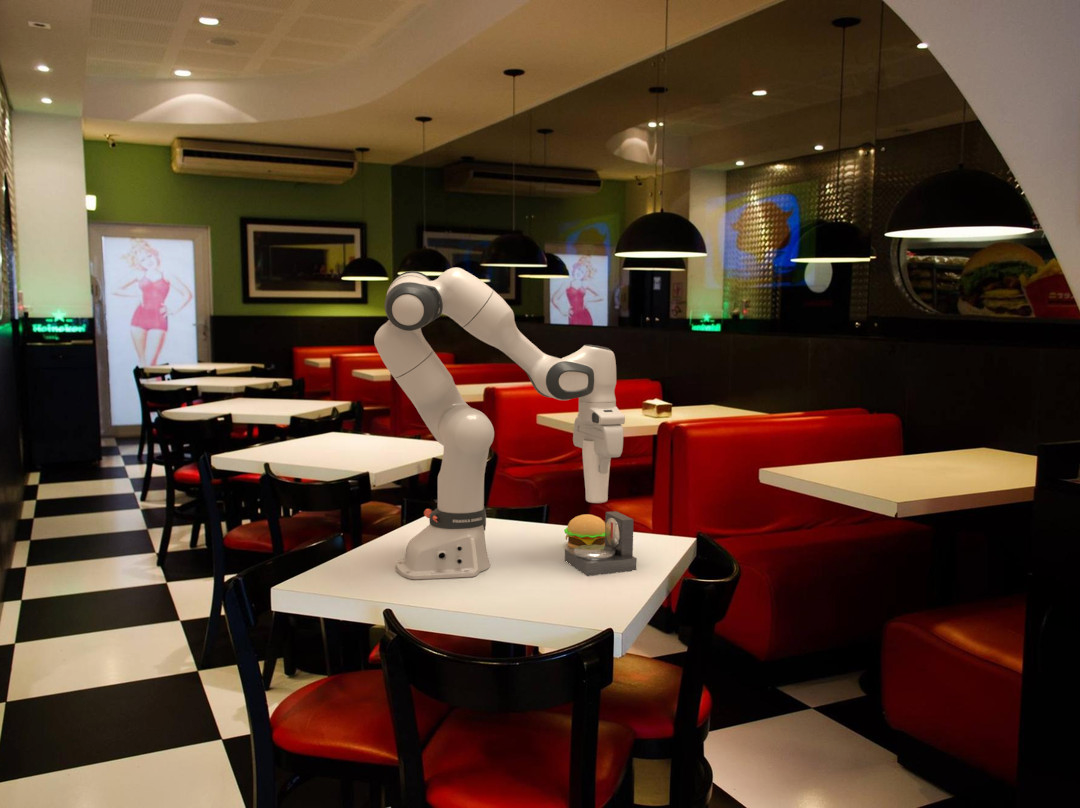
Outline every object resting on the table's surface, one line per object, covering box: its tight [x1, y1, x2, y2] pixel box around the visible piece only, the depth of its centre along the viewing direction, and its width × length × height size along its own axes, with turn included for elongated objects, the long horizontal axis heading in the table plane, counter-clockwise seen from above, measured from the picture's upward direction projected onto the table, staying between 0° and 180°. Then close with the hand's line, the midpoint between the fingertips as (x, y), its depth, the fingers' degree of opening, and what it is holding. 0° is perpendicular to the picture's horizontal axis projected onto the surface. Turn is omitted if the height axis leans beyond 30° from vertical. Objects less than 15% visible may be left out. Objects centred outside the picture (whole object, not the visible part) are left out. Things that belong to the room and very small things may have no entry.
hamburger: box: [563, 513, 605, 549], centre depth 222 cm, size 12×12×9 cm
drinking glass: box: [581, 439, 611, 504], centre depth 203 cm, size 7×7×15 cm
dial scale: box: [564, 510, 637, 577], centre depth 205 cm, size 13×13×12 cm
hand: (595, 470), depth 203 cm, fingers closed on drinking glass, 6 cm apart
